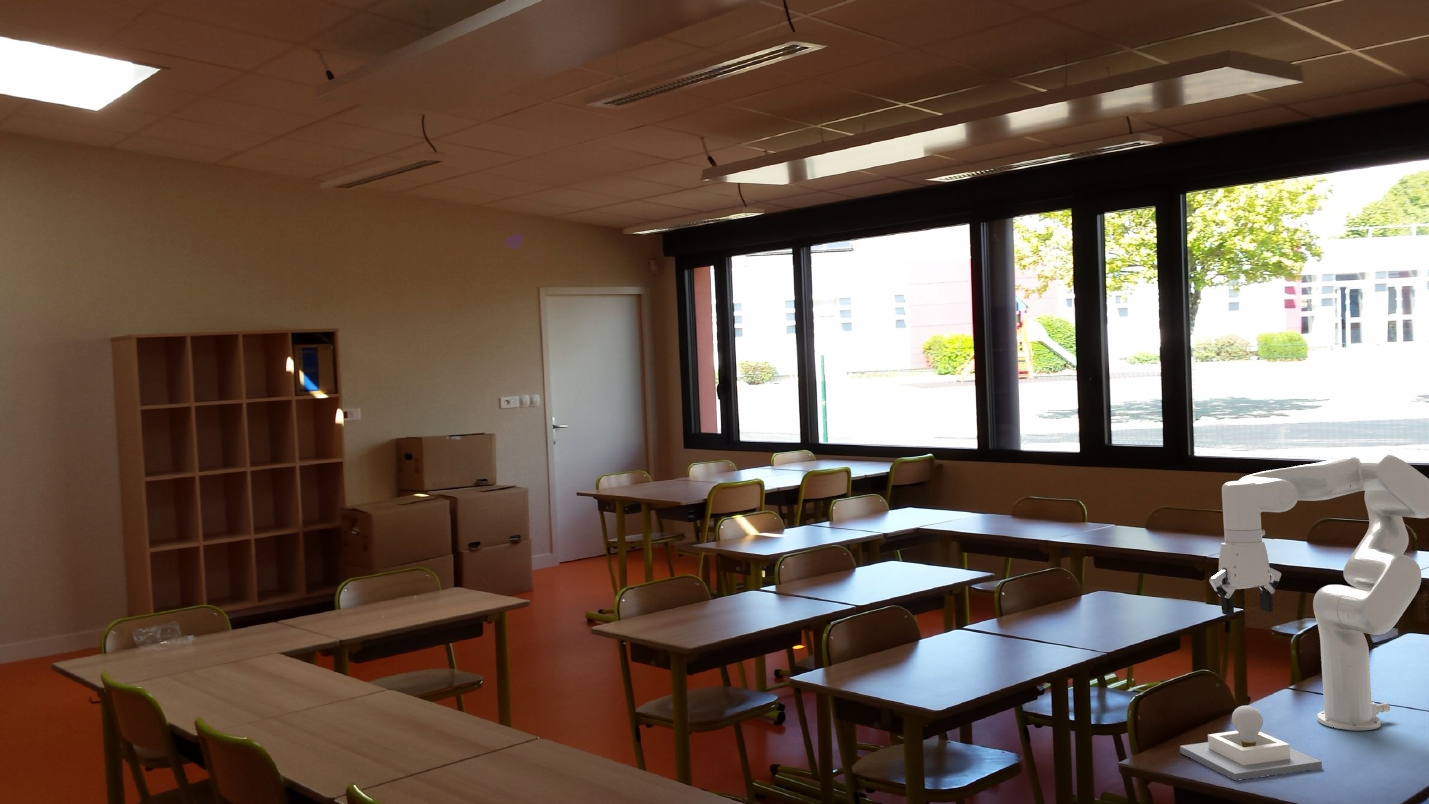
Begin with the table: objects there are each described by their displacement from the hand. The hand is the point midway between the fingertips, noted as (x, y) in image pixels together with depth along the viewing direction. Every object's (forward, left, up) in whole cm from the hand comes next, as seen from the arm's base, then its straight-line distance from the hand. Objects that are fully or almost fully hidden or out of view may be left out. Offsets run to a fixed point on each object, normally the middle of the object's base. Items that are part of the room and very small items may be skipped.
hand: (1247, 612), depth 237 cm
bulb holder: (+10, +11, -28) cm, 32 cm away
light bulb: (+10, +11, -27) cm, 31 cm away
